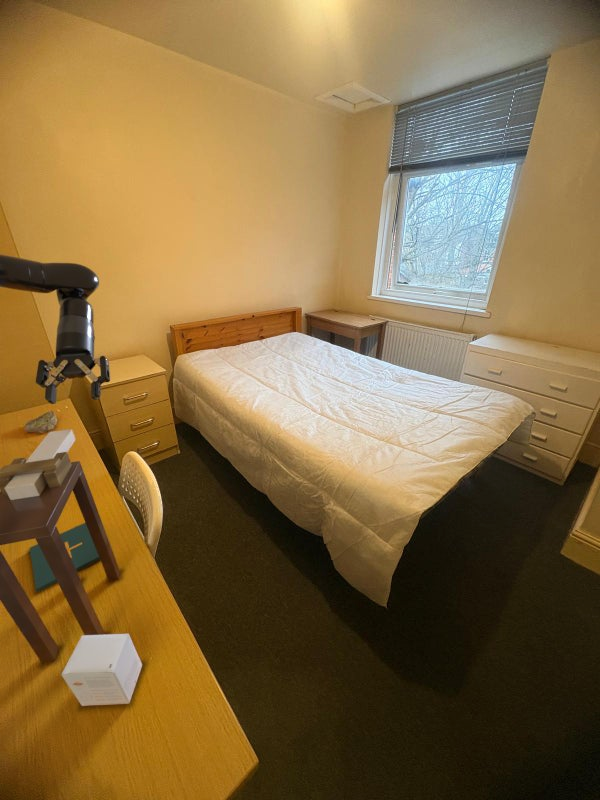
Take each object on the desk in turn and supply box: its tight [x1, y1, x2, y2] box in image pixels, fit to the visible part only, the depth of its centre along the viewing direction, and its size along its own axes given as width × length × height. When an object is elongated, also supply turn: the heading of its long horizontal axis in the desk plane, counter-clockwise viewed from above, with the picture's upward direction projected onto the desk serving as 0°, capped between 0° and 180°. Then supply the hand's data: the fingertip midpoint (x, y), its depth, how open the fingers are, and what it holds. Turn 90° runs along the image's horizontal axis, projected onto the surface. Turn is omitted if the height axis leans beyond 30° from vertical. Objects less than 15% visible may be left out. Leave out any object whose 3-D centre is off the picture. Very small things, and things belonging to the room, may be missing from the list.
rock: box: [23, 410, 58, 434], centre depth 130 cm, size 13×10×4 cm
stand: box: [0, 452, 121, 665], centre depth 58 cm, size 10×16×36 cm, turn 17°
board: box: [29, 522, 101, 593], centre depth 78 cm, size 14×14×1 cm
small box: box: [60, 633, 143, 707], centre depth 53 cm, size 8×6×10 cm
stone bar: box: [5, 428, 77, 500], centre depth 58 cm, size 4×17×2 cm, turn 15°
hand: (73, 400), depth 72 cm, fingers open, 8 cm apart
